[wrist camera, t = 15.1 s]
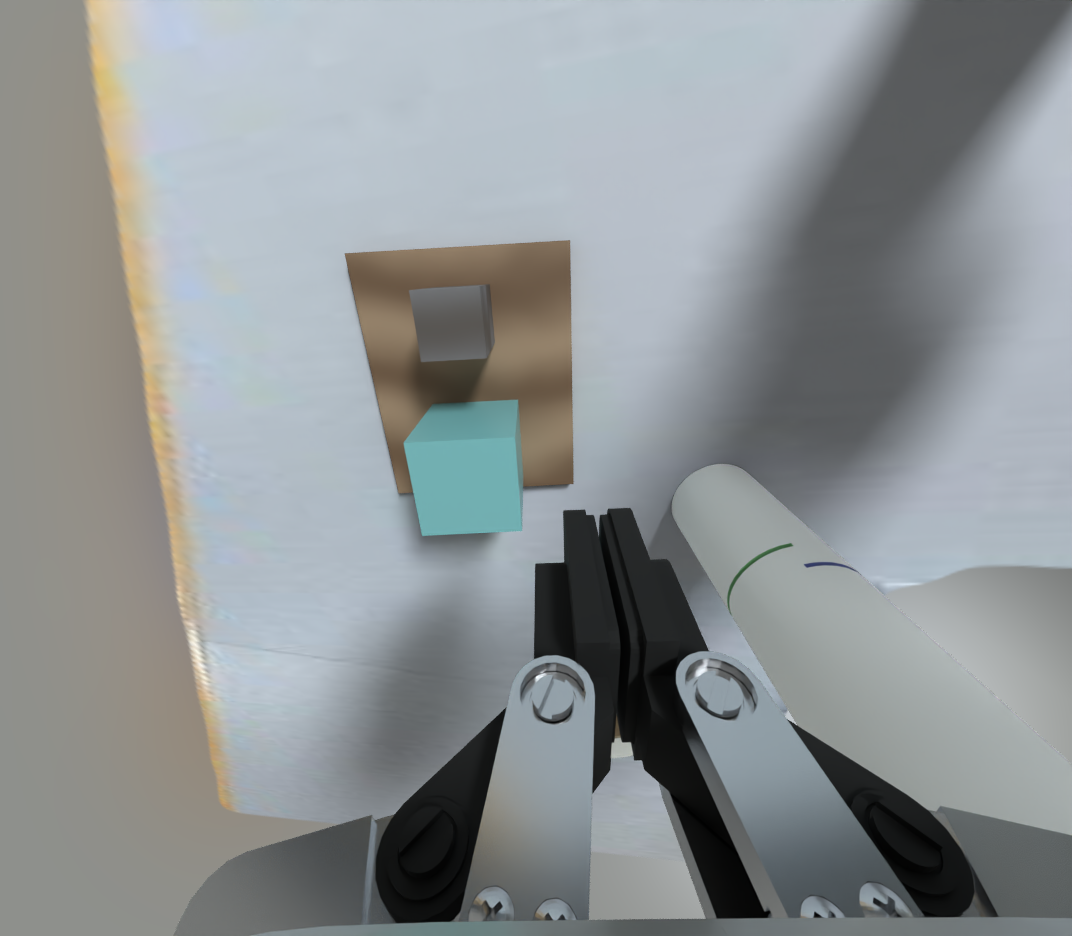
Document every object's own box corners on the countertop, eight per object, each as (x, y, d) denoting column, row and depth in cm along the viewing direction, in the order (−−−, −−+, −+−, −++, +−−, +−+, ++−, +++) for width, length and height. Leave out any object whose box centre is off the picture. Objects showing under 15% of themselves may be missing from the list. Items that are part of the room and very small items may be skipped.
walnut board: (351, 254, 26) (294, 247, 20) (568, 241, 26) (581, 230, 20) (402, 487, 33) (372, 536, 27) (572, 478, 33) (582, 525, 27)
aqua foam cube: (432, 403, 29) (403, 442, 22) (518, 399, 29) (515, 437, 22) (444, 480, 32) (422, 535, 25) (523, 476, 32) (521, 530, 25)
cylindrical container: (747, 535, 36) (1119, 973, 13) (667, 538, 36) (903, 982, 13) (764, 461, 33) (1282, 869, 10) (676, 465, 33) (1001, 881, 10)
